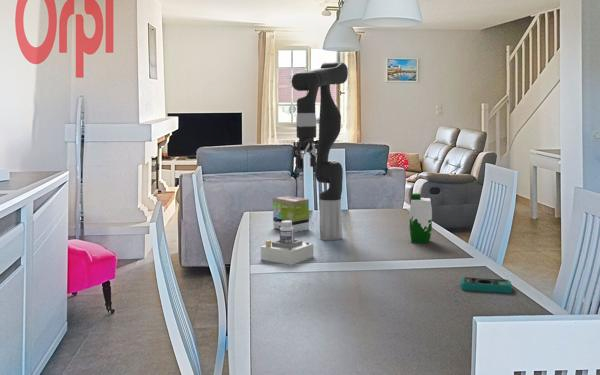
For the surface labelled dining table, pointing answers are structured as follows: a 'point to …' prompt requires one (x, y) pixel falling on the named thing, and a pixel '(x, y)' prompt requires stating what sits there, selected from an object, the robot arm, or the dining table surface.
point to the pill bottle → (286, 232)
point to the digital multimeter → (486, 285)
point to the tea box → (291, 212)
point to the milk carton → (420, 219)
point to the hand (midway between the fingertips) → (306, 167)
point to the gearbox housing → (286, 251)
